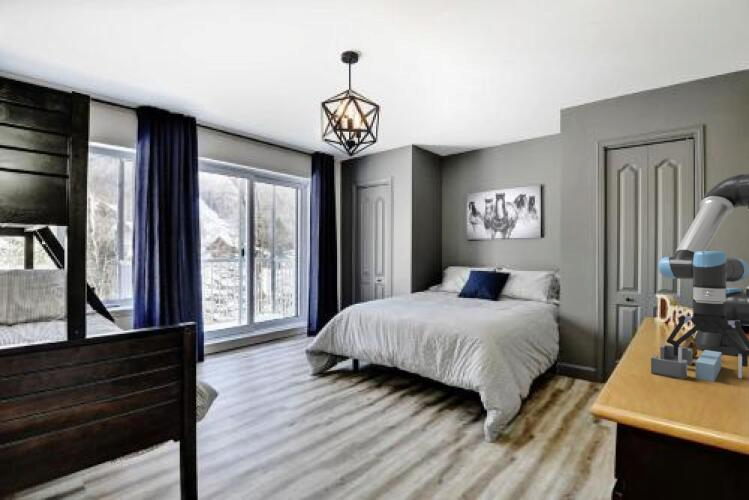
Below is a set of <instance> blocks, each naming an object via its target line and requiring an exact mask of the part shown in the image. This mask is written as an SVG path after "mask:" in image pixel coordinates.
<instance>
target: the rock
mask: <svg viewBox="0 0 749 500" xmlns="http://www.w3.org/2000/svg"><path fill="white" fill-rule="evenodd" d="M696 333H697V331H696V332H695V333H694V334H692V335H691V336H690V337H689V338H687V339H686V340H685V341H683V342H682V345H681V346H682V347H685V348H692V349H693V358H697V355H698V349H697V346H696V343H695V340H694V338H695V336H696Z"/></svg>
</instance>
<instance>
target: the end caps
mask: <svg viewBox="0 0 749 500" xmlns="http://www.w3.org/2000/svg"><path fill="white" fill-rule="evenodd" d="M659 348H660V349H659V350H660V353H659V355H660V356H658V355H655V354H653V355H652V356H651V358H650V369H651V370H650V374H652V375H656V376H662V377H668V378H673V379H680V380H684V381H686V380H687V378H688V366H690V367H692V365H693V361H694V359H693V358H694V357H693V349H692V348H685V347H682V362H678V356H674V346H673V345H671V344H670V345H669V344H661V346H659Z"/></svg>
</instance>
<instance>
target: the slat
mask: <svg viewBox="0 0 749 500" xmlns="http://www.w3.org/2000/svg"><path fill="white" fill-rule="evenodd" d="M722 355H723V354H722V352H716V351H709V350H704V351H703V352H701V354H700V356H699V357H698V358H697V359H696V360H695V379H698V380H703V381H708V382H713V383H714V382H715V380H716V379H717V377H718V375H719V373H720V371H721V370H722V369H721V368H722V367H723V366H722V361H723V360H722Z"/></svg>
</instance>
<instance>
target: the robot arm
mask: <svg viewBox="0 0 749 500" xmlns="http://www.w3.org/2000/svg"><path fill="white" fill-rule="evenodd" d="M699 207H700V208H699V211H698V213H697V214H696V216H695V218H694V219H693V221H692V222H691V224H690V227H689V228H688V229H687V231H686V232H685V235H684V236H683V238H682V240H681V241H680V243H679V245H678V247H677V248H676V250H675V251H674V254H673V255H672V256H670V255H669V256H665V257H663V258H660V260H659V262H658V272H659V273H660V275H661V276H662V277H663V278H666V279H667V278H668V279H675V280H693V285H692V286H693V287H692V288H693V289H692V299H693V300H695V301H693V302H692V316H687V315H685V314H681V315H680V317H679V320H678V321H679V322H678V323H677V325H676V326H675V328H674V329H673V331H671V333H670V335H669V336H668V338H667V339H666V343H668V344H670V345H671V346H674V356H678V362H682V345H681V344H683V343H684V342H685V340H686V339H687V338H689V337H690V336H691V335H693V334H694V333H695V332H696V333H695V336H694V337H693V338H694V340H695V343H696V346H697V350H700V351H703V352H704V350H709V351H716V352H722V355H727V356H728V355H729V356H731V355H733V356H738V357H737V358H738V359H737V360H738V361H737V365H738V366H737V367H738V368H737V369H738V371H737V377H738V378H737V379H743V367H744V368H747V367H748V363H749V362H748V357H749V337H748V336H747V335H746V333H745V332H744V330H743V328H742V326H748V327H749V285H748V286H746V287H745V288H746V289H745V292H743V291H742V289H741V288H740V287H727V282H728V283H729V282H730V283H735V282H739V281H743V280H744V279H746V278H747V277H748V276H749V265H748V263H747V262H746V261H745V260H743V259H741V258H738V257H727V254H726V252H725V251H722V250H708V249H709V247H710V245H711V242H713V239H714V237H715V236H716V235H717V232H718V231H719V229H720V226H721V225H722V224H723V222H724V220H725V218H726V217H727V216H728V215H730V214H731V213H733V211H734V210H735V209H736V208H741V207H747V211H748V212H749V173H748V172H747V173H742V174H740V173H739V174H736V175H732V176H729V177H726V178H725V179H723V180H721V181H720V182H718V183H717V184H715V185H714V186H713V187H711V188H710V189H709V191H708V192H706V194H705V195H704V196H703V198H702V199H701V200H700V203H699ZM690 321H691V323H692V324H693V325H694V326H693V327H692V328H690V329H689V330H688V331H686V332H685V333H684V334H683V335H682V336H680V337H678V339H677V340H675V338H676V336H677V335H678V333H679V332H680V330H681V329H682V327H683V326H684V325H685V324H687V323H689V322H690Z"/></svg>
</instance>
